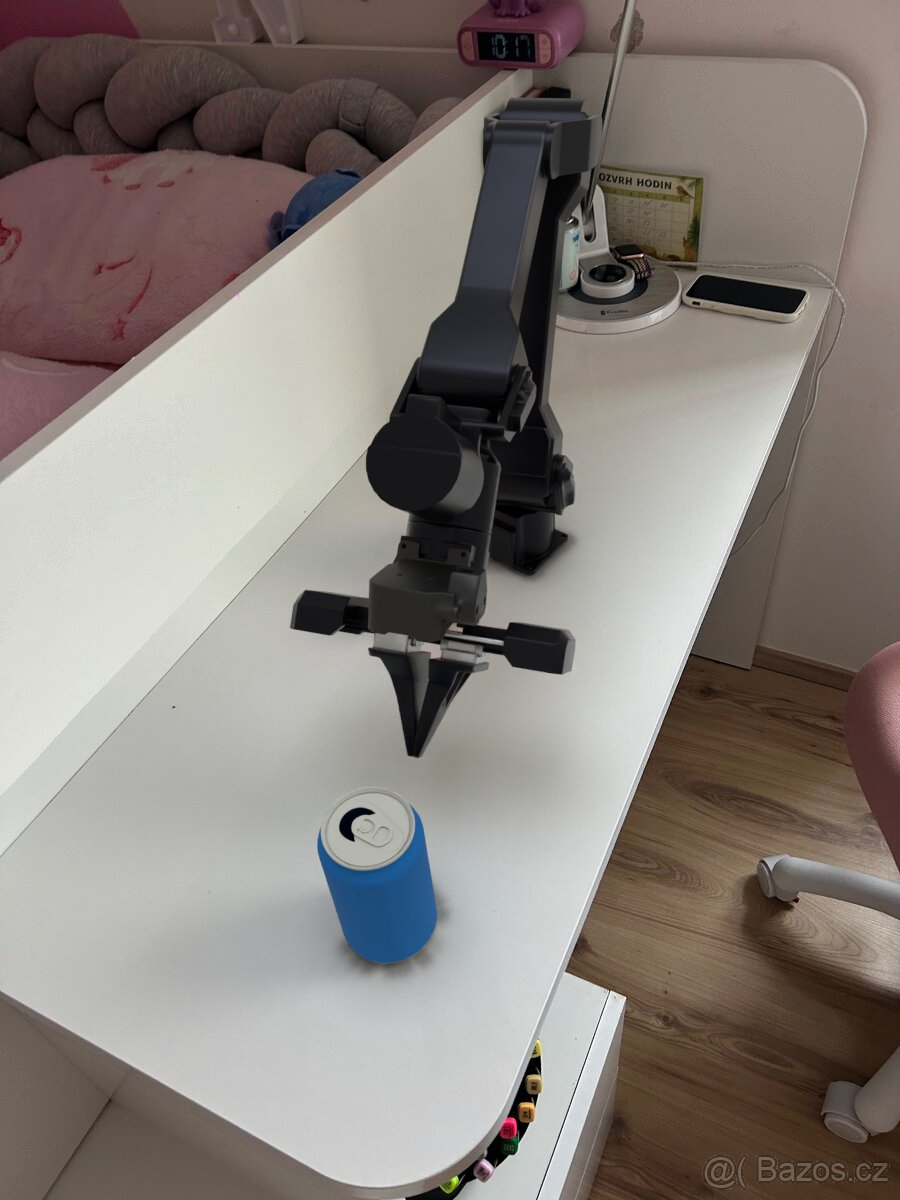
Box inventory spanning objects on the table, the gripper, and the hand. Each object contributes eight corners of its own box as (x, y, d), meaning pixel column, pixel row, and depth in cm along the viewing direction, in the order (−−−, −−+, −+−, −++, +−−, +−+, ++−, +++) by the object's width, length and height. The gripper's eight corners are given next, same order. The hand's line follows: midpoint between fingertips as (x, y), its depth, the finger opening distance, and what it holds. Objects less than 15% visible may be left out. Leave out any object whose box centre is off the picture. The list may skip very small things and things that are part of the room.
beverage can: (377, 864, 66) (354, 765, 58) (455, 904, 64) (442, 806, 55) (324, 940, 62) (291, 846, 54) (405, 986, 60) (383, 894, 52)
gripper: (272, 496, 57) (235, 745, 57) (571, 536, 52) (530, 807, 53) (338, 516, 68) (306, 726, 68) (590, 551, 63) (556, 776, 63)
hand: (414, 756), depth 63 cm, fingers closed
